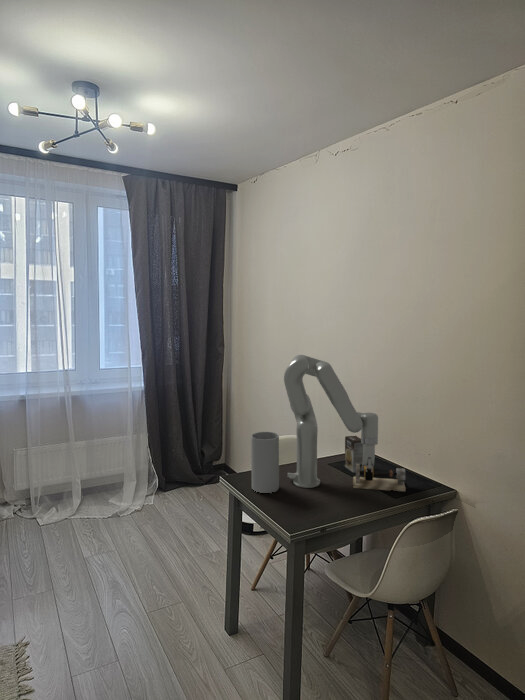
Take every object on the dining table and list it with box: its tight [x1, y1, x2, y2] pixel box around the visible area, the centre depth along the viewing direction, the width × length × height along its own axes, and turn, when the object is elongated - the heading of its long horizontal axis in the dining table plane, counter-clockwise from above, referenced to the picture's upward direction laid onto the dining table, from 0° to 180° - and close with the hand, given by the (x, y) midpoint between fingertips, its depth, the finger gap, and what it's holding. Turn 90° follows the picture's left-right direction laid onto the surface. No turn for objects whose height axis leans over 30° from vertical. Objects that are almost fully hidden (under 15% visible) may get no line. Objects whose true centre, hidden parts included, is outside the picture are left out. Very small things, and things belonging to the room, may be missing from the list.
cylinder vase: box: [250, 431, 280, 494], centre depth 209 cm, size 12×12×25 cm
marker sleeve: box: [363, 465, 375, 478], centre depth 213 cm, size 4×4×4 cm
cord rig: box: [352, 464, 407, 492], centre depth 213 cm, size 23×10×9 cm, turn 79°
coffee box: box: [344, 435, 364, 474], centre depth 233 cm, size 9×6×16 cm
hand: (368, 477), depth 214 cm, fingers open, 5 cm apart
